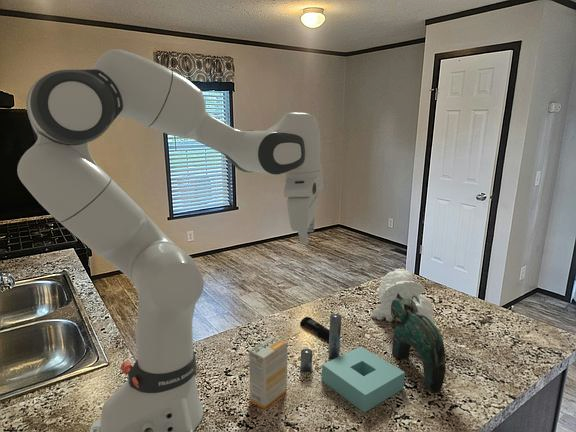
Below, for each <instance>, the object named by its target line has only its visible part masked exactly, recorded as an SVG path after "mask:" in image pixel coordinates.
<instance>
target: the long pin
mask: <svg viewBox="0 0 576 432" xmlns="http://www.w3.org/2000/svg"><path fill="white" fill-rule="evenodd" d="M341 329H342V315H341V314H339V313H331V314H330V316H329V330H330V334H329V340H328V358H329V359H331V360H333V359H335V358H337V357H339V356H341V355H340V352H341V335H342V334H341V332H342V330H341Z"/></svg>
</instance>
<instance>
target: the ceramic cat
mask: <svg viewBox="0 0 576 432" xmlns="http://www.w3.org/2000/svg"><path fill="white" fill-rule="evenodd" d="M413 297H415V298H416V300H417V301H418V303H419V304H420V302H419V299H418V297H417V296H415V295H414V296H412V299H410V298H402V297H401V296H400V295H399V294H397V297H396V299H394V300H393V301H392V304H391V316H392V318H393V319H394V320H393V321H394V322H395V325H394V331H393V336H392V348H391V354H392V355H393V356H394V357H395V359H398V360H405V359H409V358H410V350H411V348H413V349H415V351H416V352H417V353H418V355H419V357H420V358H421V363H422V368H423V376H424V378H423V379H424V387H425V389H426V390H427V391H428V392H429V393H436V392H441V391H442V388H443V385H444V380H445V375H446V371H447V366H446V350H445V345H444V341H443V337H442V336H441V333H440V331H439V328H437V326H436V325H435V324H434V323H433V322H432V321H431V320H430V319H429V318H428V317H426V316H424V315H422V314H420V313H419V312H418V309H417V306H416V304H415V302H414V301H413Z"/></svg>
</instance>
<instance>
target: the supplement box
mask: <svg viewBox="0 0 576 432" xmlns="http://www.w3.org/2000/svg"><path fill="white" fill-rule="evenodd" d="M248 356H249V358H248V360H249V361H248V362H249V365H248V366H249V369H248V370H249V371H248V372H249V401H250V402H252V403H253V404H255V405H256V406H258V407H260V408H261V409H263V410H265V409H266V408H268V407H270V405H271V404H273V403H274V402H275V401H276V400H278V399H279V398H280V397H281V396H283V395H284V394H285V393H286V392H287V390H288V389H287V388H288V342H287V341H285V340H282V339H280V338H279V337H276V336H273V335H272V336H271V337H269V338H267V339H266V340H264V341H262V342H260V343H259V344H257V345H256V346H253V348H251V349H249V350H248Z"/></svg>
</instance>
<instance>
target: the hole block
mask: <svg viewBox="0 0 576 432" xmlns="http://www.w3.org/2000/svg"><path fill="white" fill-rule="evenodd" d="M405 375H406V373H405V371H404V370H402V369H400V368H399V367H397V366H396V365H394V364H392V363H390V362H388V361H387V360H385V359H383V358H382V357H380V356H378V355H377V354H375V353H374V352H371V351H369V350H368V349H367V348H365V347H363V346H359V347H357V348H355V349H353V350H350V351H348V352H346V353H344V354H342V355H340V356H339V357H337V358H335V359H331V360H329V361H327V362H324V363H322V365H321V382H323V383H324V384H325V385H327V386H328V387H330V389H332V390H333V391H335V392H336V393H337V394H339V395H340V396H341V397H342V398H344V399H345V400H346V401H348V402H349V403H350V404H352V405H353V407H356V408H357V409H359V410H360V411H361V412H362V413H367V412H368V411H369V410H371V409H373V408H375V407H377V406H378V405H380V404H381V403H383V402H384V401H386V400H388V399H389V398H391V397H393V396H394V395H396V394H397V393H399V392H401V391H402V390H404V388H405V387H404V386H405Z"/></svg>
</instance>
